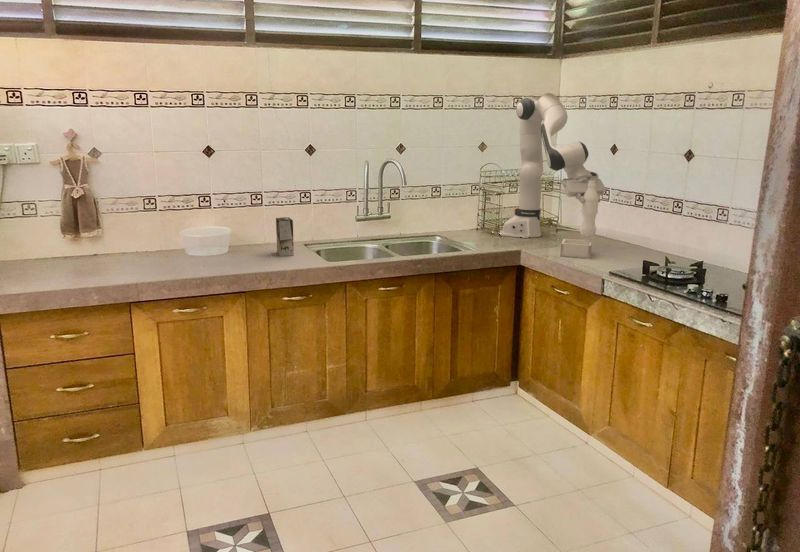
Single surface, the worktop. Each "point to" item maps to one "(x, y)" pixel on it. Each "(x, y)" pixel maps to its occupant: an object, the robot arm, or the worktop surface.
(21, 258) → the worktop surface
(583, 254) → the box
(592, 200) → the water bottle
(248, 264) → the worktop surface
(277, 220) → the coffee box
